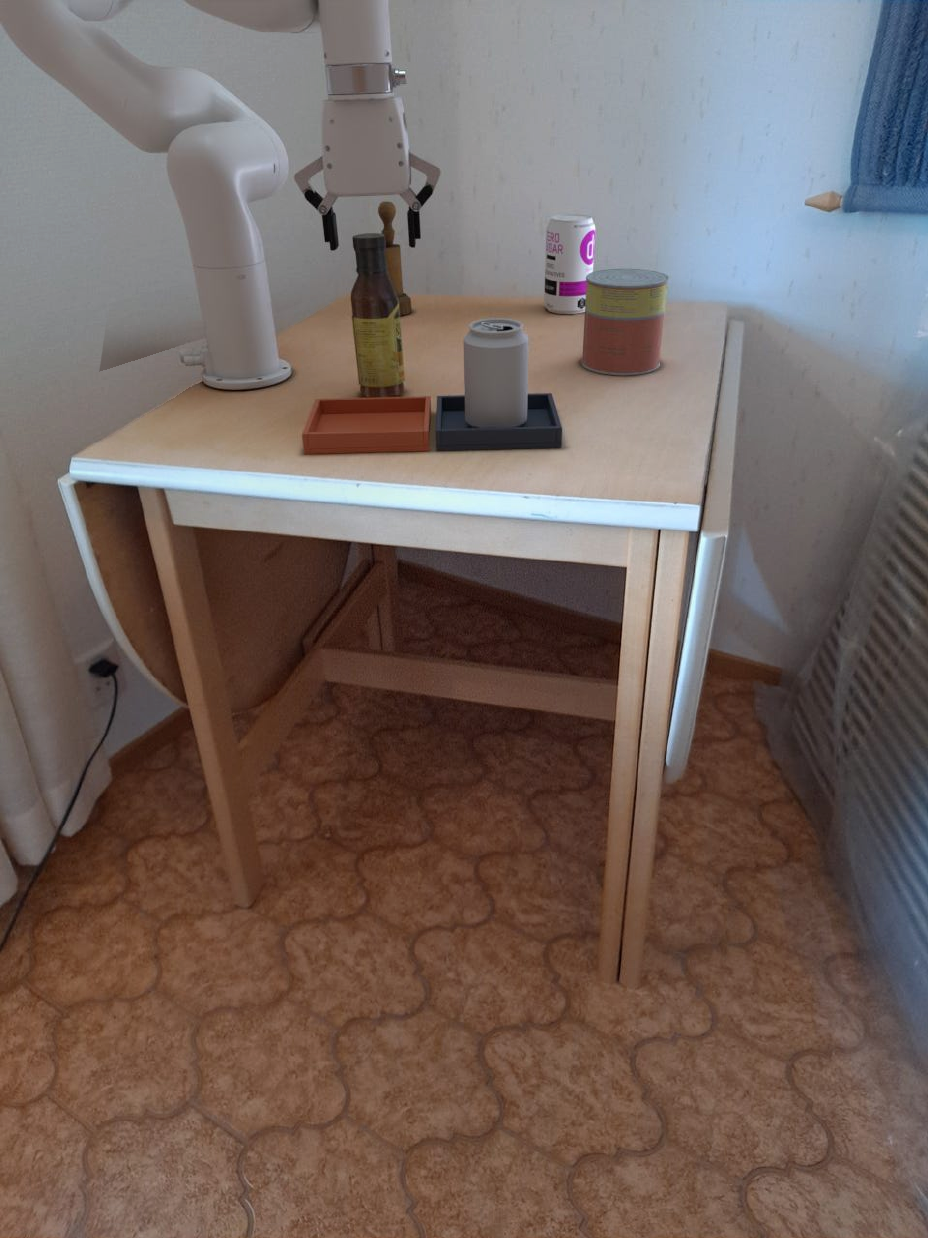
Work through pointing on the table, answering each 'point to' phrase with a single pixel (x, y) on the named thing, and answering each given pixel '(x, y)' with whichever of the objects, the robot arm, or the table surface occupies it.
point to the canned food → (624, 321)
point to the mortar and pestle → (393, 256)
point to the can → (496, 373)
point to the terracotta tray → (368, 425)
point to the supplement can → (568, 262)
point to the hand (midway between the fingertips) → (373, 247)
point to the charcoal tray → (534, 433)
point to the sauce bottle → (376, 321)
